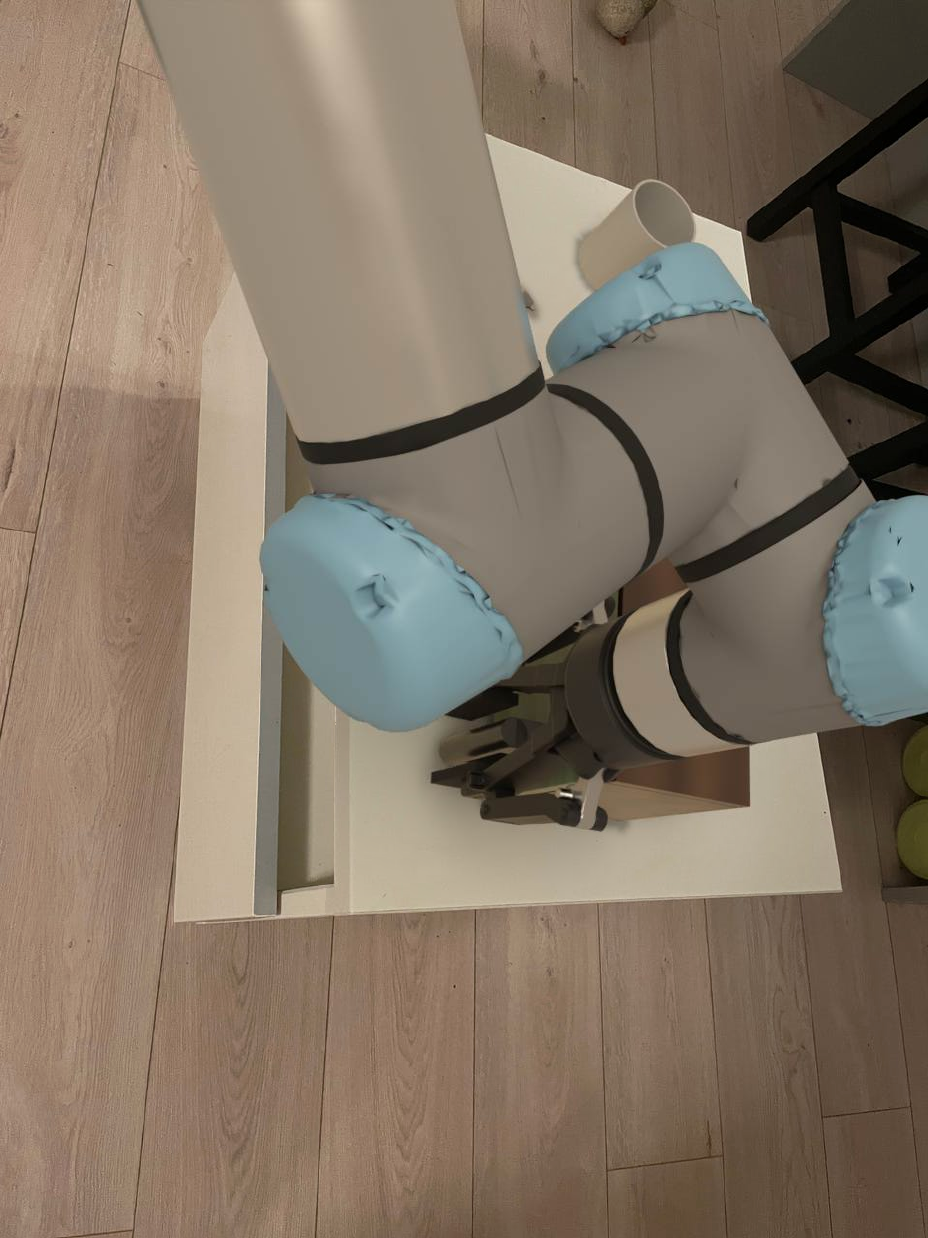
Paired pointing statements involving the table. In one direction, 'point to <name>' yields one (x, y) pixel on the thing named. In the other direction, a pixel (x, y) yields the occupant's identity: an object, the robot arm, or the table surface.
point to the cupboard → (683, 780)
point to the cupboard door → (513, 730)
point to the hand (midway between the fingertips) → (452, 746)
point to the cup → (636, 231)
